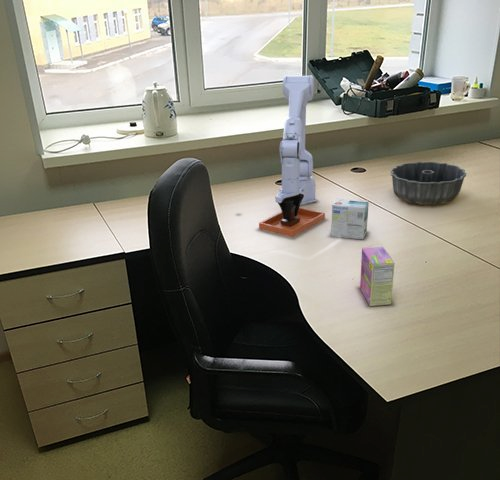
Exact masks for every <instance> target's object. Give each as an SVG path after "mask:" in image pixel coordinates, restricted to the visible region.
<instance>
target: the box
mask: <svg viewBox="0 0 500 480" xmlns="http://www.w3.org/2000/svg"><path fill="white" fill-rule="evenodd" d="M360 259H361V260H360V261H361V262H360V279H359V280H360V281H359V289H360V291H361V292H362V294H363V296H364V299H365V300H366V302H367V304H368V305H369V307H377V306H389V305H392V298H393V297H392V296H393V286H394V276H395V267H396V266H395V265H396V263H395V261H394V260H393V258H392V257H391V256H390V254H389V253H388V252H387V250H386V249H385V248H384V246H372V247H371V246H370V247H362V248H361V258H360Z"/></svg>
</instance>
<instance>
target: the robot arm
mask: <svg viewBox="0 0 500 480" xmlns="http://www.w3.org/2000/svg"><path fill="white" fill-rule="evenodd" d="M314 88H315V77H314V76H313V75H312V74H311V75H284V77H283V79H282V94H283V96H284V97H285V100H287V101H288V118H286V119H285V120H284V123H283V133H282V140H281V141H280V142H279V156H280V157H279V158H280V164H281V188H279V190H278V192H279V193H278V194H277V195H275V197H274V198H275V199H274V202H275V203H277V205H278V206H279V208H280V210H281V211H282V214H283V217H284V219H285V220H290V217H291V209H292V205H293V204H294V205H295V216H297V214H298V210H299V208H300V207H301V205H305V204H312V203H316V202H317V199H316V191H317V190H316V189H317V187H316V185H317V184H316V180H315V177H314V176H313V172H314V161H313V158H314V156H313V154H312V153H310V152H309V151H308V150H307V149H306V130H307V128H306V127H307V105H308V102H310V101H313V99H314V91H315V90H314Z"/></svg>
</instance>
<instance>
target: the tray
mask: <svg viewBox="0 0 500 480" xmlns="http://www.w3.org/2000/svg"><path fill="white" fill-rule="evenodd" d="M295 217H299V218H300V222H299V223H297V224H295V225H293V226H292V227H288V226H284V225H281V220H283V219H284V217H283V214H282V210H281V211H279V212H277V213H276V214H273V215H272V216H270V217H268V218H265V219H264V220H262V221H260V222H259V223H258V229H259V230H261V231H267V232H270V233H273V234H274V233H275V234H279V235H282V236H286V237H290V238H295V237H296V236H298V235H300V234H301V233H303V232H305V231H306V230H308V229H310V228H313V226H316V225H318V224H319V223H321V222H322V221H324V220H325V219H326V213H325V212H322V211H317V210H312V209H309V208H308V209H307V208H303V207H299V210H298V214H297V216H295Z"/></svg>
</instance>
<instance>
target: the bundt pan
mask: <svg viewBox="0 0 500 480" xmlns="http://www.w3.org/2000/svg"><path fill="white" fill-rule="evenodd" d="M465 171H466V170H465V169H464V168H461V167H460V166H458V165H455V164H450V163H447V162H437V161H416V162H405V163H402V164H400V165H395V167H393V168H391V169H390V176H392V177H391V181H392V191H393V193H394V195H395V196H396V198H399V199H400V200H401V201H404V202H409V203H410V204H411V205H414V204H418V205H420V206H424V205H428V204H429V205H430V206H434V205H436V204H438V205H442V204H445V203H450V202H451V201H454V200H455V199H456V197H457V196H458V195H459V194H460V192H461V190H462V186H463V183H464V180H465V178H466V177H467V172H465Z"/></svg>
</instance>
